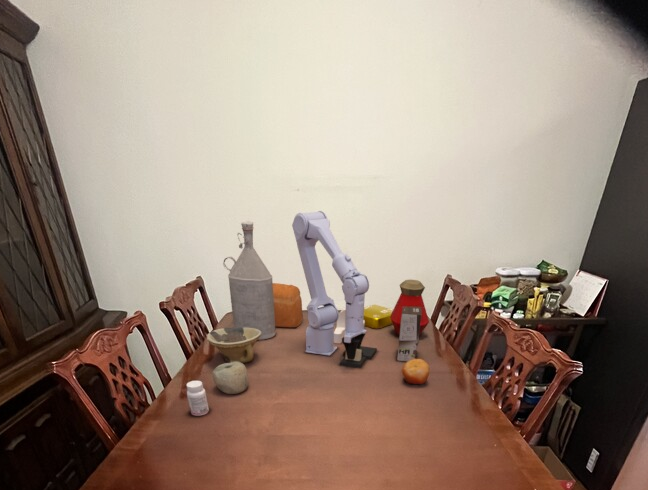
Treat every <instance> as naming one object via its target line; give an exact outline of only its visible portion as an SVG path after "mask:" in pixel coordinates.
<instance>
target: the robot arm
mask: <svg viewBox="0 0 648 490" xmlns="http://www.w3.org/2000/svg"><path fill="white" fill-rule="evenodd" d="M291 226H292V230H293V231H292V232H293V234H294V238H295V241H296V247H297V250H298V254H299V258H300V262H301V265H302V269H303V273H304V277H305V281H306V284H307V288H308V292H309V296H310V299H311V300H310V301H309V303H308V304H307V305H306V310H307V321H308V325H307V327H306V328H305V329H306V330H305V353H306V354H307V353H309V354H315V355H322V356H327V357H328V356H329V357H330V356H332V354H333V353H334V352H335V351H336V350H337V349H338V346H335V343H334V331H335V326H336V323H337V320H338V318H339V313H340V311H339V309H338V308H337V306H336V304H335V301H334V299H333V298H331V297H330V296H329V295H328V294H327V291H326V286H325V283H324V278H323V274H322V270H321V267H320V262H319V258H318V255H317V250H316V245H317V242H319V243H320V244H321V246H323V248H324V249H325V251H326V252H327V254H328V255H329V257H330V258H331V259H332V262H331V265H332V268H333V270H334V271H335V273H336V275H337V276H338V278H339V279H340V281H341V283H342V285H341V290H342V294H343V295H344V301H345V307H346V317H345V336H344V337H343V338H342V342H341V343H342V344H343V346H344V348H345V350H346V353H347V357H348V359H353V360H354V358H355V354H356V349H360V346H362V342H363V340H364V338H365V335H366V333H367V329H365V328H364V329H363V319H364V307H365V296H366V295H365V294H366V293H368V291H369V289H370V282H369V279H368V276H367V275H366V274H365V273H364V274H363V273H361V271H359V270H358V269H357V267H356V266H355V264H354V262H353V260H352V257H351V256H350V255H349V254H348V253H344V252H342V249H341V248H340V245H339V244H338V242H337V239H335V236H334V234H333V232H332V230H331V227H330V226H331V221H330V220H329V219H328V216H327V214H326V212H325V211H322V210H319V211H313V212H312V211H311V212H298V213H296V215H295V216H294V219H293V222H292V224H291Z"/></svg>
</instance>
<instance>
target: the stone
mask: <svg viewBox="0 0 648 490" xmlns="http://www.w3.org/2000/svg"><path fill="white" fill-rule="evenodd" d="M211 375H212V380H213V382H214V384H215V386H216V387H217V388H218V389H219V390H220V391H221V392H222V393H225V394H227V395H236V394H240V393H242V392H245V391H246V390H247V388H248V386H249V374H248V370H247V367H246V365H245V364H244V363H240V362H225V363H222V364H219V365H218V366H216V367H215V368H214V369H213V370H212V372H211Z"/></svg>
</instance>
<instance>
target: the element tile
mask: <svg viewBox="0 0 648 490" xmlns="http://www.w3.org/2000/svg"><path fill="white" fill-rule="evenodd" d="M392 312H393V309H392V308H388V307H386V306H381V305H379V304H371V305H367V306H364V319H363V320H365V325H364V327H368V328H370V329H375V330H379V329H382V328H385V327H388V326H391V325H393V323H392V321H391V318H390V316H391V314H392Z"/></svg>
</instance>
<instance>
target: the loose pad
mask: <svg viewBox="0 0 648 490" xmlns="http://www.w3.org/2000/svg"><path fill="white" fill-rule="evenodd" d="M361 352H362V350H361V349H356V354H355V358H354V360H353V359H348V357H347V353H346V356H343V358H342V359H341V360H340V361H339V365H340V366H343V367H350V368H357V369H361V368H362V366H363V365H364V363H365V362H366V361H367V359H366V357H363V356H362V354H361Z"/></svg>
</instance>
